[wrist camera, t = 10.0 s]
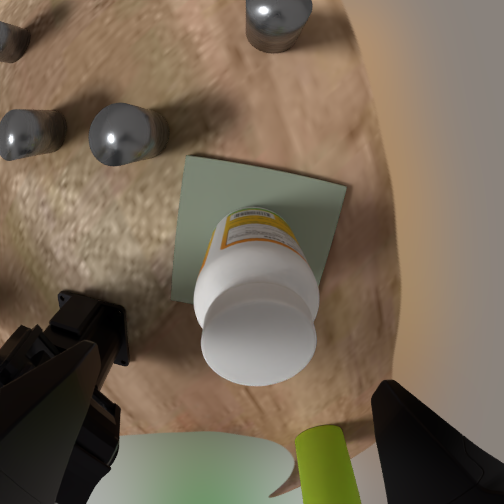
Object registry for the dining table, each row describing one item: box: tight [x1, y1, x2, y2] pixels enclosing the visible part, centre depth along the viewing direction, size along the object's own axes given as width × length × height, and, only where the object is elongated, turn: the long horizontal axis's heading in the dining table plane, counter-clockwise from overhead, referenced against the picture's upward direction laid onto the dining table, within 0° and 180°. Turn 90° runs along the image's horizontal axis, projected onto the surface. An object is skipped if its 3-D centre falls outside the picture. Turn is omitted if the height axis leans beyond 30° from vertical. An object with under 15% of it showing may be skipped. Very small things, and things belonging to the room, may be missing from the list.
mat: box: [171, 155, 347, 304], centre depth 19 cm, size 10×10×1 cm
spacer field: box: [0, 0, 312, 166], centre depth 11 cm, size 19×24×4 cm
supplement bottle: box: [194, 207, 319, 386], centre depth 14 cm, size 5×5×10 cm
